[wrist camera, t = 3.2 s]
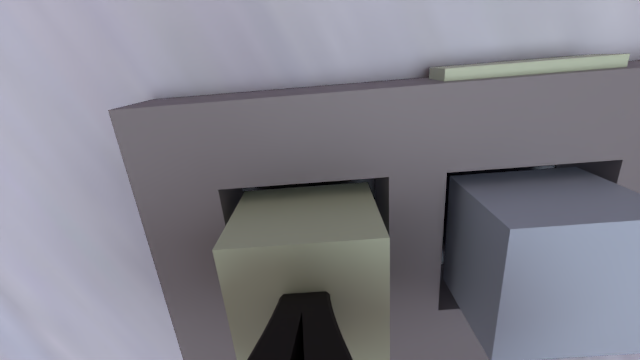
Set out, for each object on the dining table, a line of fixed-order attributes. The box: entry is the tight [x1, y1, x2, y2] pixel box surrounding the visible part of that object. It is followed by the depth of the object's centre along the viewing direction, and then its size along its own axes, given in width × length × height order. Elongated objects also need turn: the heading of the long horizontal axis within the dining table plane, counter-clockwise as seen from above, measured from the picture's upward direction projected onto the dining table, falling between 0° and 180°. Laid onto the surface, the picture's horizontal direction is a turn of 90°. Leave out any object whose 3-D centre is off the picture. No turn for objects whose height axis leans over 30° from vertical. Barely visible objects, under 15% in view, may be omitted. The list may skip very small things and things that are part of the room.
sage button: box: [212, 182, 390, 360], centre depth 12 cm, size 5×5×4 cm
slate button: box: [443, 167, 640, 360], centre depth 11 cm, size 5×5×4 cm
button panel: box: [108, 54, 640, 360], centre depth 14 cm, size 12×28×3 cm, turn 94°
